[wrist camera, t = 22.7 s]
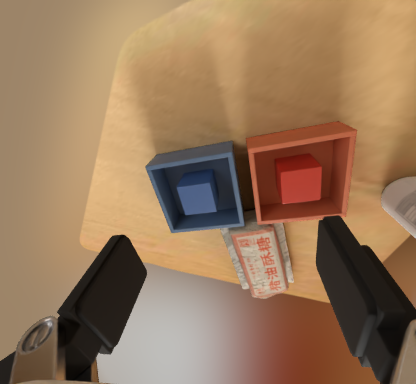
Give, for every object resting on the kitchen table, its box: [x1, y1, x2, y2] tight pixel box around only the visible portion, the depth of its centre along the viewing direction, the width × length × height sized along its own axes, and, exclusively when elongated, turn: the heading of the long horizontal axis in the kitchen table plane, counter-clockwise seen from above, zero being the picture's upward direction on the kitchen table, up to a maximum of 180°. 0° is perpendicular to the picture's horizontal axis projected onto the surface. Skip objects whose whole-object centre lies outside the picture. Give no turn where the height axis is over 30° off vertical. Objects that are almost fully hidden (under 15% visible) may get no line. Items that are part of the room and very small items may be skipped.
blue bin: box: [145, 141, 245, 233], centre depth 29 cm, size 11×11×4 cm
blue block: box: [177, 169, 219, 215], centre depth 29 cm, size 4×4×4 cm
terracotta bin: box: [246, 121, 357, 225], centre depth 27 cm, size 11×11×4 cm
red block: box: [274, 153, 322, 204], centre depth 26 cm, size 4×4×4 cm
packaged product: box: [220, 210, 294, 299], centre depth 35 cm, size 18×5×10 cm
